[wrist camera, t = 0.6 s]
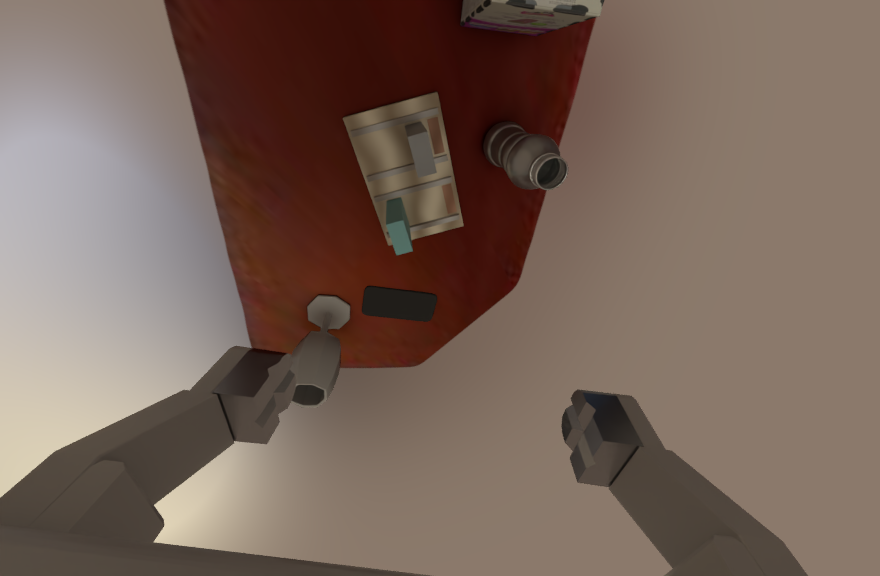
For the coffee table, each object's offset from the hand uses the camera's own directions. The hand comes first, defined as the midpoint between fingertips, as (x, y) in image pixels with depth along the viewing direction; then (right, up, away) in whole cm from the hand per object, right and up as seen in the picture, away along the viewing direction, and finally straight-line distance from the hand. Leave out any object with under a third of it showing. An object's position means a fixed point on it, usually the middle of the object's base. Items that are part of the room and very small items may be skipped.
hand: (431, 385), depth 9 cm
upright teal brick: (-7, +16, +44) cm, 47 cm away
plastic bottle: (+10, +27, +42) cm, 51 cm away
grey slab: (-3, +25, +38) cm, 46 cm away
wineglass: (-23, -2, +56) cm, 60 cm away
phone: (-8, 0, +58) cm, 58 cm away
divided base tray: (-5, +21, +43) cm, 48 cm away
